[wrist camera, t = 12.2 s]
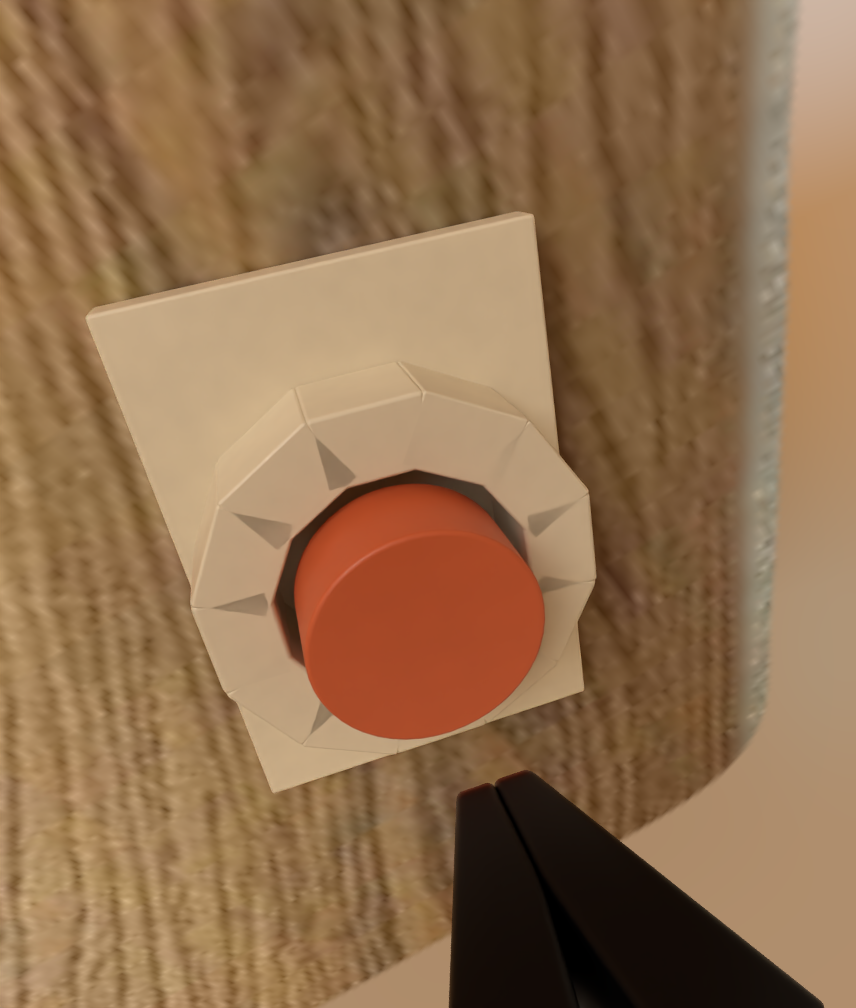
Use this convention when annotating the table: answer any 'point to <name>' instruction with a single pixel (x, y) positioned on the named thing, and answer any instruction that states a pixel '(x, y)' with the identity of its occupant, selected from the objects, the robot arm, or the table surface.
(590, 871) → the robot arm
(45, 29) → the table surface
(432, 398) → the beige button base
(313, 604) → the button
